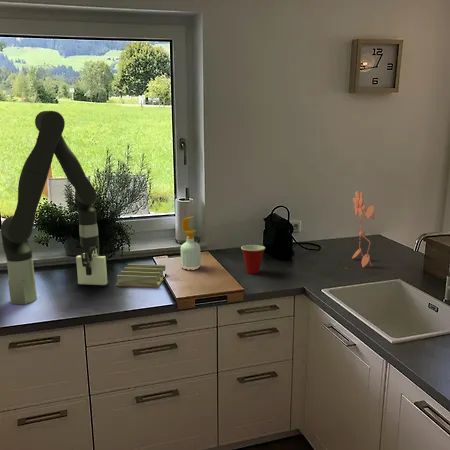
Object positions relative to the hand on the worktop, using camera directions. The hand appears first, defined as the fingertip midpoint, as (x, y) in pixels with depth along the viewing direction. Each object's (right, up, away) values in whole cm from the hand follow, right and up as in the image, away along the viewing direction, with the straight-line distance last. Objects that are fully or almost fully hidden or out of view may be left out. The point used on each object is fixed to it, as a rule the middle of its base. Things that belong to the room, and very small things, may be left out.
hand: (92, 272), depth 207 cm
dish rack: (+21, -4, +5) cm, 21 cm away
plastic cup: (+69, -1, +14) cm, 70 cm away
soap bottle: (+41, 0, +20) cm, 45 cm away
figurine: (+118, +2, +24) cm, 120 cm away
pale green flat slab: (0, -5, +1) cm, 5 cm away
